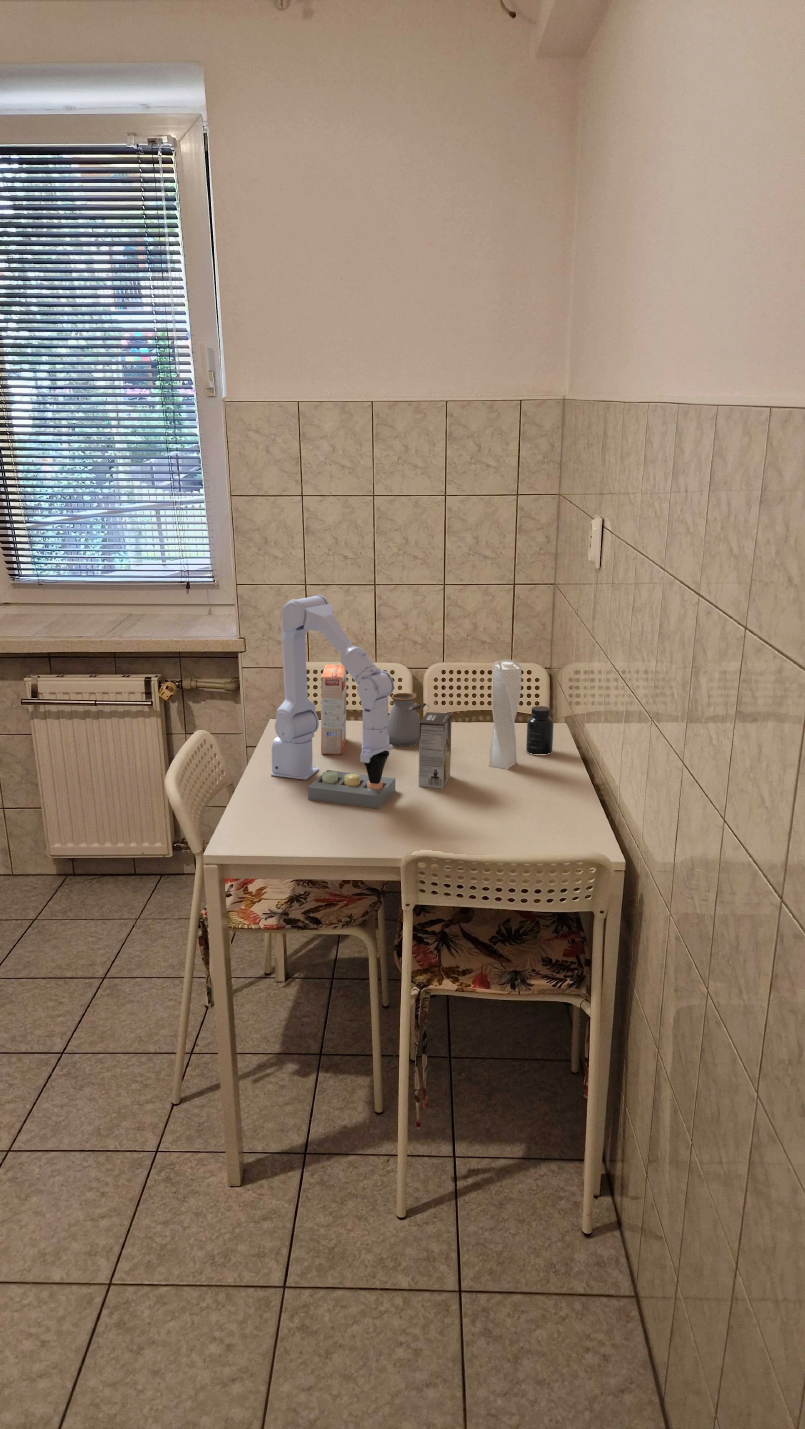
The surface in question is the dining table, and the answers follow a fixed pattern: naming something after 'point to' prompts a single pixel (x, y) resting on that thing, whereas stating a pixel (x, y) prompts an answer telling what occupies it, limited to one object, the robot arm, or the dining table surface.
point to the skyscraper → (504, 712)
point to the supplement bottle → (540, 731)
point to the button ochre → (352, 780)
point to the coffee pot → (404, 720)
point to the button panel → (351, 791)
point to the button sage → (330, 777)
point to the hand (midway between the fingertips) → (375, 782)
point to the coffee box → (435, 749)
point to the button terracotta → (375, 785)
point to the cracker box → (333, 709)
